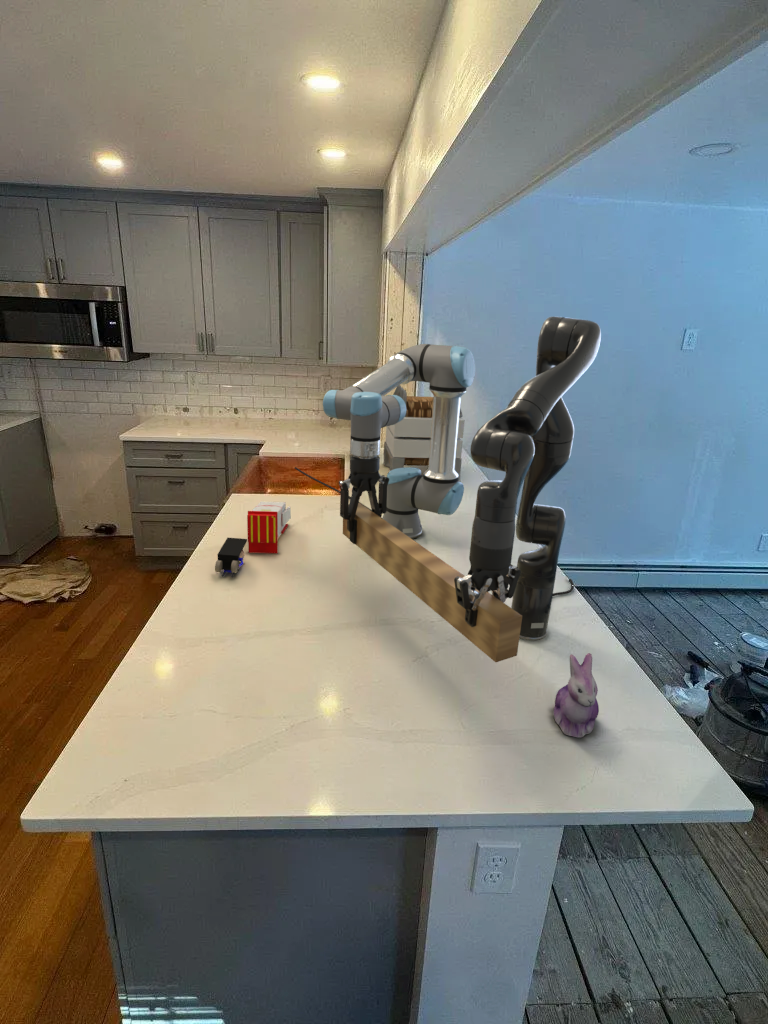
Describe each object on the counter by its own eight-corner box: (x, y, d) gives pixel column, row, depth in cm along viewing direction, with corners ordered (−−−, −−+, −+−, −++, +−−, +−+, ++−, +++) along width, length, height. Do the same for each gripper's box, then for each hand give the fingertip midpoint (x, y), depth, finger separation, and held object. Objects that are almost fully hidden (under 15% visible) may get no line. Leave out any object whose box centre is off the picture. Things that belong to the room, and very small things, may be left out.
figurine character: (238, 584, 162) (249, 557, 175) (236, 562, 158) (247, 536, 172) (215, 584, 161) (227, 556, 175) (212, 561, 158) (225, 535, 171)
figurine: (577, 747, 104) (590, 678, 99) (539, 713, 113) (549, 648, 108) (613, 732, 109) (628, 665, 104) (573, 700, 117) (585, 637, 112)
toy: (293, 496, 204) (280, 513, 174) (293, 532, 206) (280, 555, 177) (259, 495, 203) (240, 512, 174) (259, 531, 206) (241, 554, 177)
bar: (342, 533, 155) (342, 504, 153) (358, 531, 158) (359, 502, 155) (495, 662, 102) (500, 622, 99) (517, 655, 104) (522, 615, 101)
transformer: (382, 463, 289) (386, 382, 275) (445, 464, 293) (451, 384, 279) (390, 482, 257) (394, 392, 243) (460, 483, 261) (468, 394, 247)
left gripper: (338, 462, 135) (337, 551, 143) (403, 455, 143) (399, 540, 152) (325, 455, 141) (325, 540, 149) (389, 448, 150) (385, 530, 158)
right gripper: (472, 554, 95) (463, 640, 101) (537, 540, 102) (525, 622, 108) (447, 537, 101) (440, 620, 107) (509, 526, 108) (499, 604, 114)
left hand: (362, 540), depth 150 cm, fingers closed on bar, 5 cm apart
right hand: (483, 621), depth 108 cm, fingers closed on bar, 5 cm apart
